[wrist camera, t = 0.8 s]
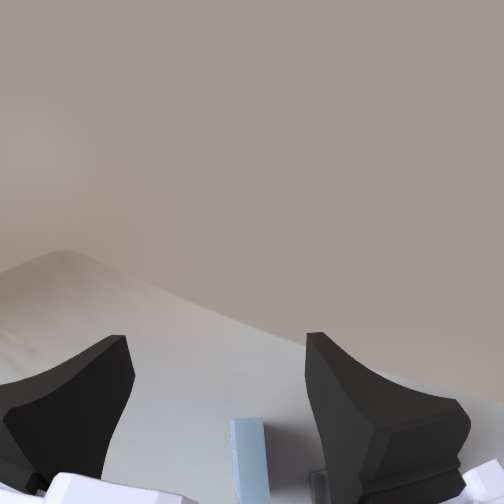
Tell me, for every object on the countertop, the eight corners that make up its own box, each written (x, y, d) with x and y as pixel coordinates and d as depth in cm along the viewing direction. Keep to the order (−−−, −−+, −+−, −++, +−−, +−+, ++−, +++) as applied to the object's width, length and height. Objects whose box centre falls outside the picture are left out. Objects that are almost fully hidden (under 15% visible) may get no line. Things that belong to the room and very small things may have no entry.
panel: (257, 491, 20) (271, 511, 14) (235, 492, 19) (242, 514, 13) (250, 421, 23) (262, 417, 17) (229, 422, 22) (234, 419, 17)
